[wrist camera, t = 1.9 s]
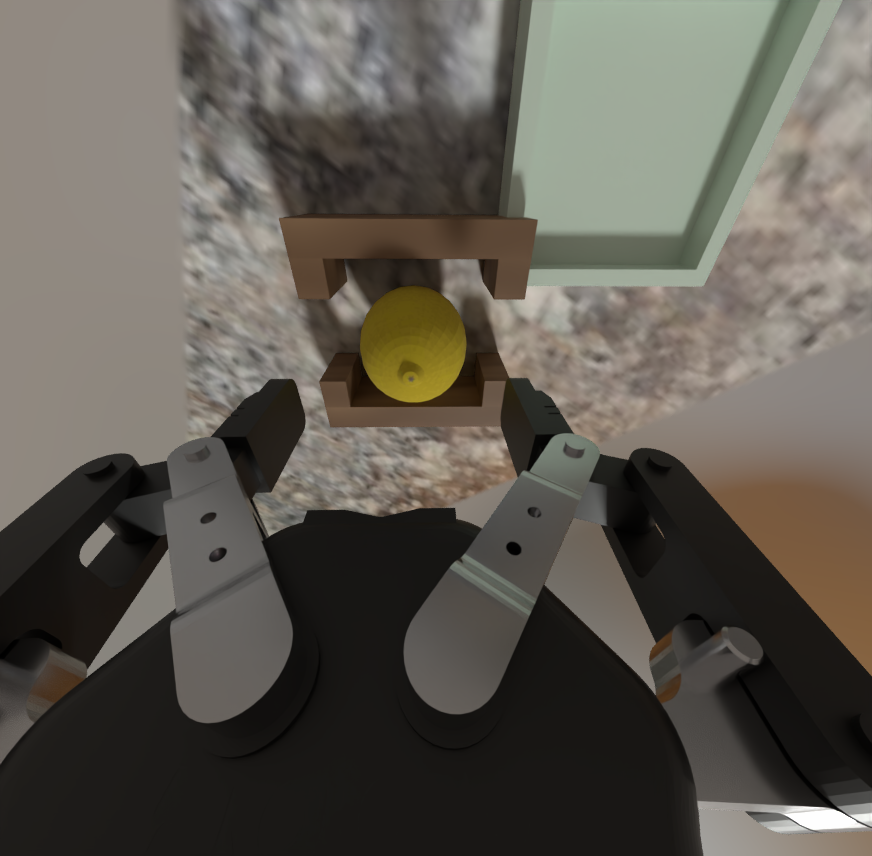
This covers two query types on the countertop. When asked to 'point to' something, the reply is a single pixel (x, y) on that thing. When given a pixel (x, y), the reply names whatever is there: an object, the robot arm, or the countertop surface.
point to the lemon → (413, 344)
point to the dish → (646, 129)
